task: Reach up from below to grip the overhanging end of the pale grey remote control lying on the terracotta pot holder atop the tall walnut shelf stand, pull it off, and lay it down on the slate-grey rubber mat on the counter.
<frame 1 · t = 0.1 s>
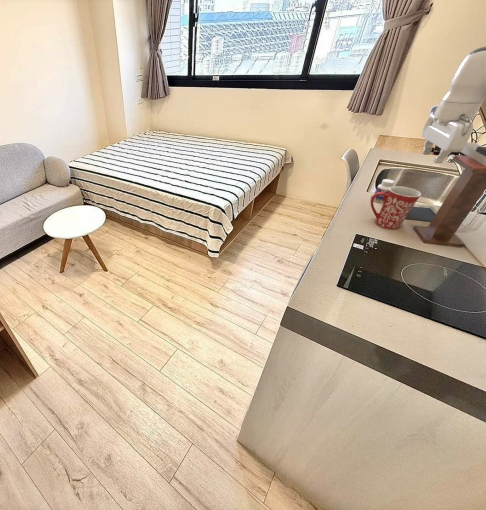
hand: (430, 158, 91), 24 cm above the table, tool pointing down, fingers open, 8 cm apart
mat: (416, 213, 109), on the table
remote: (476, 156, 84), point 26 cm above the table, touching shelf stand
shelf stand: (435, 237, 96), on the table
pill bottle: (378, 200, 120), on the table
mug: (381, 224, 105), on the table
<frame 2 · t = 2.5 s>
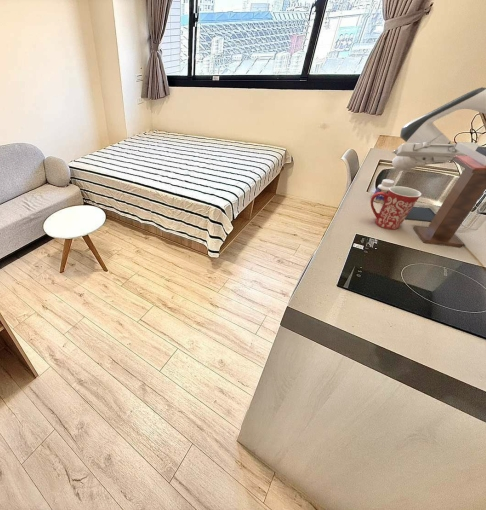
hand: (443, 144, 100), 24 cm above the table, tool pointing upward, fingers open, 8 cm apart
nothing on the table moved.
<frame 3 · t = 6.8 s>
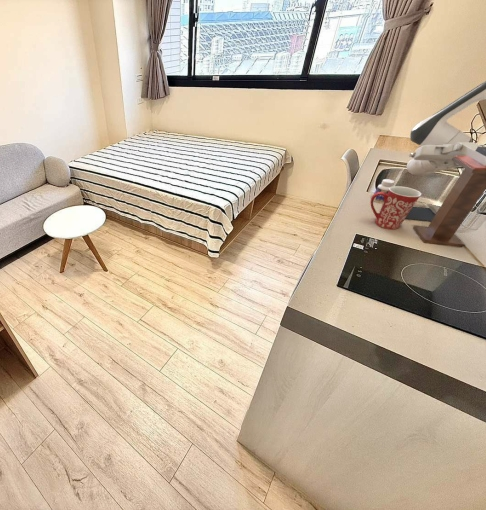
hand: (471, 147, 87), 28 cm above the table, tool pointing upward, fingers closed on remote, 4 cm apart
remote: (476, 156, 84), point 26 cm above the table, touching gripper, shelf stand
everything else where it was.
when the fingers open (8 cm above the table, at t = 14.8 s): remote drops 4 cm, resting on mat.
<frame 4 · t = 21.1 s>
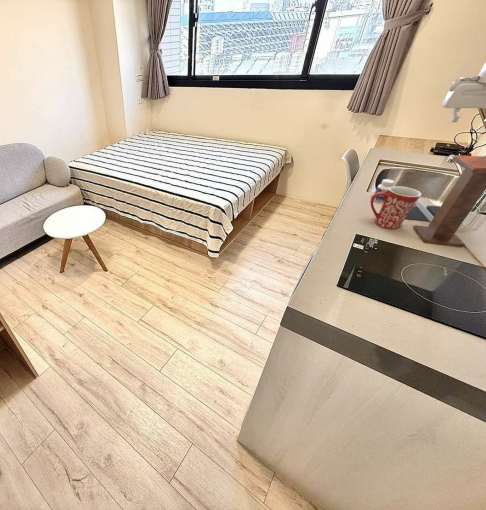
hand: (470, 122, 98), 31 cm above the table, tool pointing down, fingers open, 8 cm apart
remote: (427, 212, 109), resting on mat
everything else where it was.
at the end: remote inside the target area on the mat (4.2 cm from its centre), point 0.4 cm above the mat's base; the gripper is holding nothing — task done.
